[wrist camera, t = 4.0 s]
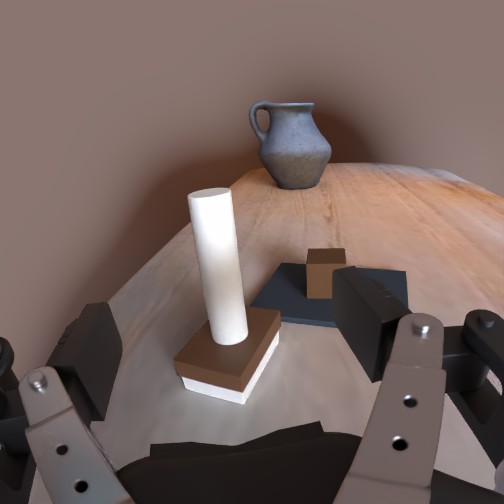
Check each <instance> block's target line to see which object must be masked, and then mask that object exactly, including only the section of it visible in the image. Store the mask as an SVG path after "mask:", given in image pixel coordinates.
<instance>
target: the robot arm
mask: <svg viewBox="0 0 504 504" xmlns="http://www.w3.org/2000/svg"><path fill="white" fill-rule="evenodd" d="M332 315H333V319H334V322H335V324H336V326H337V327H338V329H339V331H340V332H341V334H342V335H343V337H344V338H345V340H346V342H347V343H348V345H349V346H350V348H351V350H352V351H353V353H354V354H355V356H356V358H357V359H358V361H359V362H360V364H361V366H362V367H363V369H364V371H365V372H366V374H367V375H368V377H369V379H370V380H371V382H372V383H374V382H377V381H381V380H382V382H381V385H380V388H379V391H378V394H377V398H376V401H375V404H374V407H373V410H372V412H371V415H370V418H369V421H368V424H367V427H366V429H365V432H364V435H363V437H360V436H356V435H352V434H347V433H340V432H324V431H323V428H322V426H321V423H320V421H318V422H313V423H309V424H305V425H300V426H295V427H291V428H286V429H280V430H277V431H274V432H272V433H269V434H267V435H264V436H262V437H259V438H257V439H254V440H251V441H248V442H246V443H243V444H240V445H236V446H228V445H216V444H206V443H197V442H181V443H164V444H151V446H150V456H148V457H144V458H141V459H139V460H136V461H134V462H132V463H129V464H128V465H126V466H124V467H122V468H121V469H120V470H118V469H117V468H116V466H115V465H114V464H113V462H112V461H111V459H110V458H109V456H108V455H107V453H106V452H105V450H104V449H103V447H102V446H101V444H100V443H99V441H98V439H97V438H96V436H95V435H94V433H93V431H92V430H91V428H90V424H91V421H104V420H105V416H106V412H107V408H108V404H109V400H110V396H111V393H112V389H113V385H114V382H115V378H116V374H117V371H118V367H119V364H120V360H121V357H122V352H123V348H122V341H121V337H120V334H119V332H118V329H117V326H116V323H115V320H114V318H113V315H112V312H111V309H110V306H109V304H108V303H107V302H102V303H93V304H87V305H86V306H85V308H84V309H83V311H82V313H81V315H80V316H79V318H78V319H75V320H74V321H73V322H72V323H71V324H70V325H69V326H67V328H66V329H65V331H64V333H63V335H62V338H60V340H59V342H58V345H56V347H55V349H54V351H53V352H52V354H51V356H50V358H49V360H48V362H47V364H46V366H43V367H39V368H36V369H33V370H31V371H30V372H28V373H27V374H26V375H25V376H24V377H23V378H22V379H21V381H20V383H19V388H17V389H13V390H8V391H4V392H3V391H2V389H1V388H0V446H1V449H0V504H28V502H29V497H30V492H31V488H32V483H33V479H34V475H35V471H36V466H37V468H38V470H39V473H40V475H41V477H42V480H43V482H44V485H45V487H46V489H47V491H48V494H49V496H50V498H51V500H52V502H53V504H504V320H503V319H502V318H501V317H500V316H499V315H497V314H496V313H494V312H491V311H488V310H481V309H479V310H473V311H470V312H469V313H468V314H467V315H466V318H465V322H464V326H451V327H443V324H442V323H441V321H440V320H438V319H437V318H435V317H434V316H431V315H428V314H424V313H412V312H411V311H410V310H409V309H408V308H407V307H406V306H405V305H404V304H403V303H402V302H401V301H400V300H399V299H398V298H397V297H395V295H394V294H393V293H392V292H391V291H389V289H388V288H387V287H386V286H385V285H384V284H383V283H382V282H380V281H378V280H376V279H374V278H371V277H365V276H364V275H363V274H362V273H361V272H360V271H359V270H358V269H357V268H356V267H355V266H351V267H345V268H339V269H334V270H333V273H332ZM2 352H3V348H2V346H1V344H0V358H1V356H2ZM489 369H491V371H492V372H493V373H494V374H495V375H496V376H497V378H498V379H499V380H500V382H501V384H502V396H501V395H500V393H499V392H498V391H497V390H496V389H495V387H494V386H493V385H492V384H491V382H490V381H489V380H488V379H487V378H486V376H487V374H488V372H489ZM445 393H447V394H448V396H449V397H450V399H451V400H452V401H453V403H454V404H455V406H456V407H457V409H458V410H459V412H460V413H461V415H462V416H463V418H464V419H465V421H466V422H467V424H468V425H469V427H470V428H471V430H472V431H473V433H474V434H475V436H476V438H477V439H478V441H479V442H480V444H481V445H482V447H483V449H484V450H485V452H486V453H487V455H488V457H489V458H490V460H491V462H492V463H493V465H494V466H495V468H496V472H495V485H496V487H495V489H494V491H493V490H489V489H486V488H483V487H481V486H478V485H475V484H472V483H469V482H466V481H464V480H461V479H458V478H456V477H453V476H450V475H448V474H445V473H443V472H440V471H438V470H435V469H434V464H435V459H436V453H437V448H438V442H439V436H440V429H441V422H442V414H443V406H444V396H445Z"/></svg>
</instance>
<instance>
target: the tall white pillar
mask: <svg viewBox="0 0 504 504" xmlns="http://www.w3.org/2000/svg"><path fill="white" fill-rule="evenodd" d="M188 203H189V209H190V215H191V222H192V229H193V235H194V241H195V247H196V253H197V259H198V264H199V270H200V276H201V281H202V287H203V292H204V297H205V303H206V308H207V313H208V318H209V320H208V321H207V322H206V323H205V324H204V325H203V327H202V328H201V329H200V330H199V331H198V332H197V333H196V334H195V336H194V337H193V338H192V339H191V340H190V341H189V342H188V343H187V345H186V346H185V347H184V348H183V349H182V350H181V351H180V352H179V354H178V355H177V356H176V357H175V358H174V359H173V363H174V366H175V369H176V372H177V375H178V376H181V377H182V379H183V382H184V385H185V388H186V389H188V390H192V391H195V392H198V393H202V394H205V395H209V396H212V397H216V398H220V399H223V400H227V401H231V402H235V403H239V404H243V405H244V403H245V402H246V400H247V398H248V396H249V395H250V393H251V391H252V389H253V388H254V386H255V384H256V382H257V380H258V379H259V377H260V375H261V373H262V371H263V370H264V368H265V366H266V364H267V362H268V360H269V359H270V357H271V355H272V353H273V351H274V349H275V347H276V346H277V344H278V342H279V333H278V330H279V328H280V327H281V316H280V310H272V309H264V308H256V307H249V306H245V304H244V296H243V288H242V280H241V272H240V263H239V255H238V247H237V239H236V230H235V222H234V213H233V205H232V196H231V190H230V189H227V188H212V189H205V190H200V191H196V192H193V193H191V194H189V195H188Z"/></svg>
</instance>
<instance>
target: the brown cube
mask: <svg viewBox="0 0 504 504" xmlns="http://www.w3.org/2000/svg"><path fill="white" fill-rule="evenodd" d="M345 267H346V256H345V249H344V248H329V249H308V255H307V262H306V276H307V298H308V299H332V273H333V270H334V269H339V268H345Z"/></svg>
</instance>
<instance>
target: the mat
mask: <svg viewBox="0 0 504 504" xmlns="http://www.w3.org/2000/svg"><path fill="white" fill-rule="evenodd" d="M357 269H358V270H359V271H360V272H361V273H362V274H363V275H364V276H365V277H371V278H374V279H376V280H378V281H380V282H382V283H383V284H384V285H385V286H386V287H387V288H388V289H389V291H391V292H392V293H393V294H394V295H395V297H397V298H398V299H399V300H400V301H401V302H402V303H403V304H404V305H405V306H406V307H407V308H408V294H407V280H406V271H395V270H380V269H365V268H357ZM250 307H256V308H264V309H272V310H280V316H281V321H285V322H292V323H300V324H309V325H317V326H326V327H336V328H338V327H337V326H336V324H335V322H334V319H333V315H332V299H308V298H307V276H306V264H295V263H281V264H280V266H279V267H278V269H277V270H276V271H275V273H274V274H273V275H272V277H271V278H270V279H269V281H268V282H267V284H266V285H265V286H264V288H263V289H262V290H261V292H260V293H259V294H258V296H257V297H256V299H255V300H254V301H253V303H252V304H251V305H250Z"/></svg>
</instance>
